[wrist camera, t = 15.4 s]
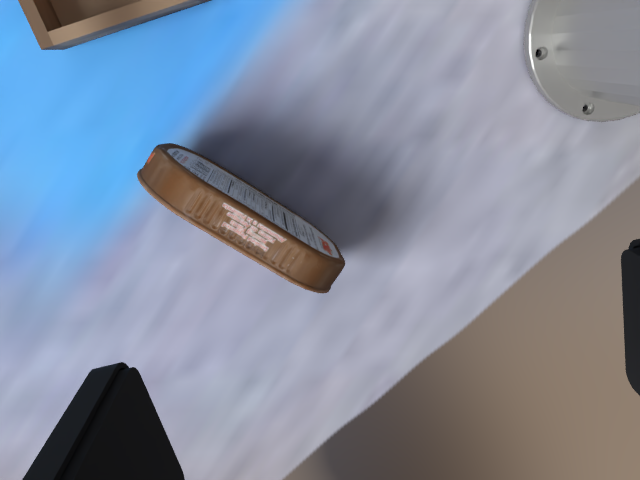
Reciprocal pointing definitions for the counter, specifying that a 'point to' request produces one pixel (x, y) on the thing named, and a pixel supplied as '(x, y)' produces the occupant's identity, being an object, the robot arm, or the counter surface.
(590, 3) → the robot arm
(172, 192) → the tin
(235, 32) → the counter surface
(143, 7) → the tray
